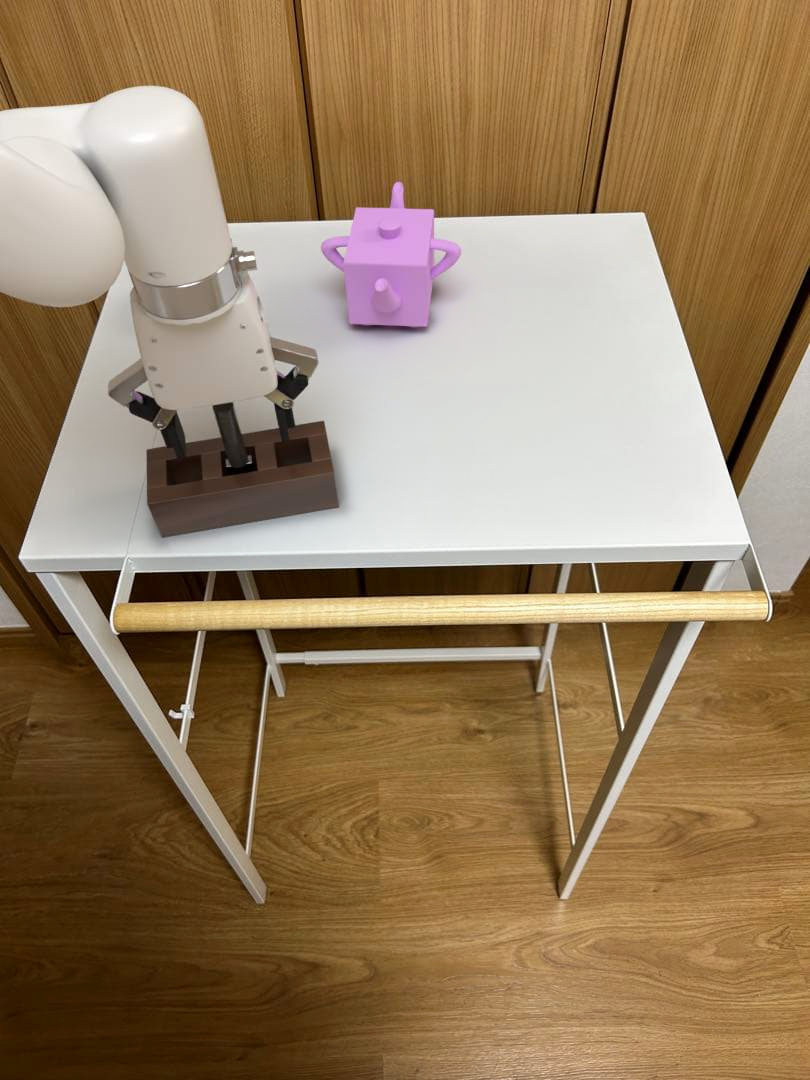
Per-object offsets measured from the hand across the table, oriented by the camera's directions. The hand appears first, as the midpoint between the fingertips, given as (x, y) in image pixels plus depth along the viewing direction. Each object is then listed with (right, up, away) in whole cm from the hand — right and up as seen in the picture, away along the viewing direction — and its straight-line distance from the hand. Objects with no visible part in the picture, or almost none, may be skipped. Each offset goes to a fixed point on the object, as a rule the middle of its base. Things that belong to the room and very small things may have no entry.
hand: (233, 439), depth 74 cm
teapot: (+14, +18, +23) cm, 32 cm away
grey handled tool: (0, -5, +6) cm, 8 cm away
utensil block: (0, -5, +6) cm, 8 cm away
